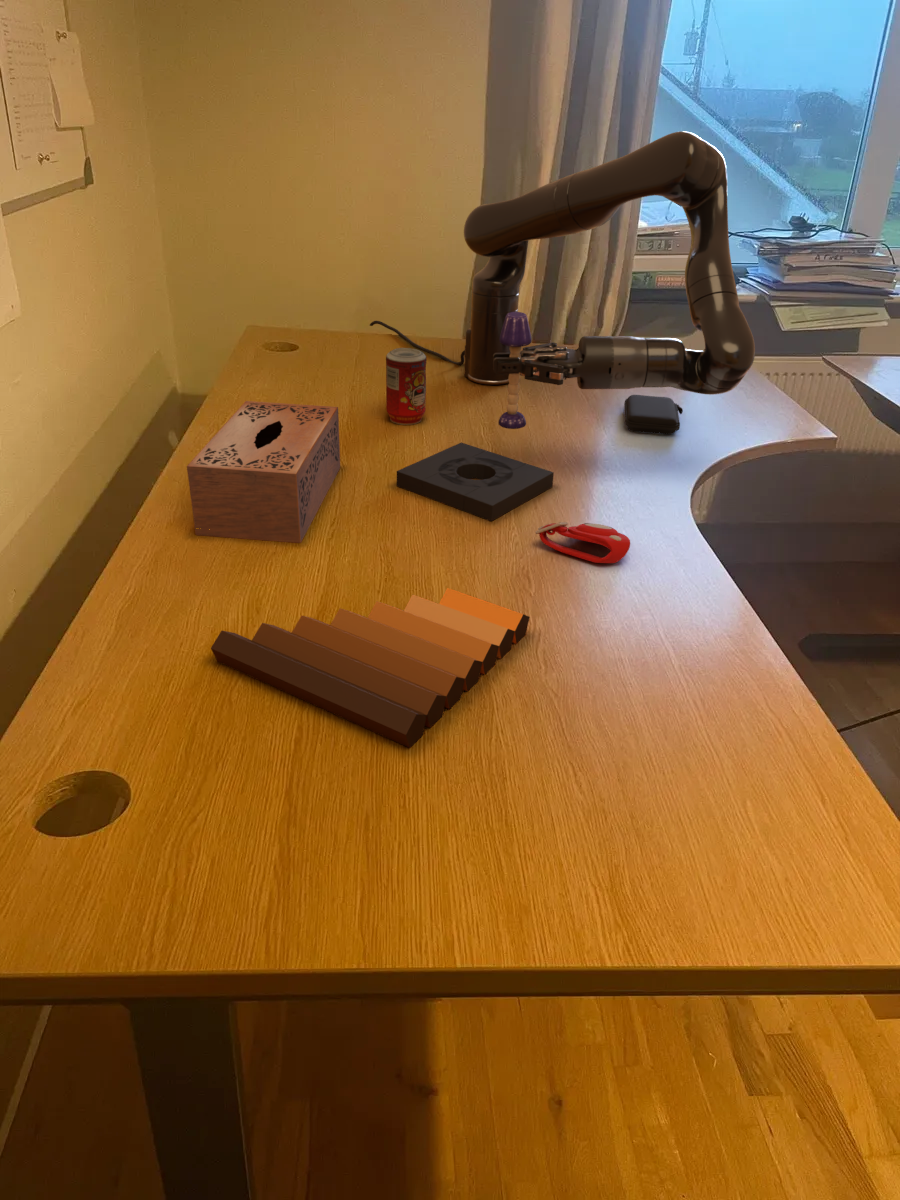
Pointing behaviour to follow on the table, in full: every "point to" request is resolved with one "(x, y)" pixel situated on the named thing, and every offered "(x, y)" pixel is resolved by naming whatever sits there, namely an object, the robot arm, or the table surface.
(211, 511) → the tissue box cover
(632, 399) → the carrying case
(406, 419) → the soda can
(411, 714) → the brown ridged flat slab
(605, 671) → the table surface
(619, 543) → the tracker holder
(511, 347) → the toy lamp
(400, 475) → the socket pad
